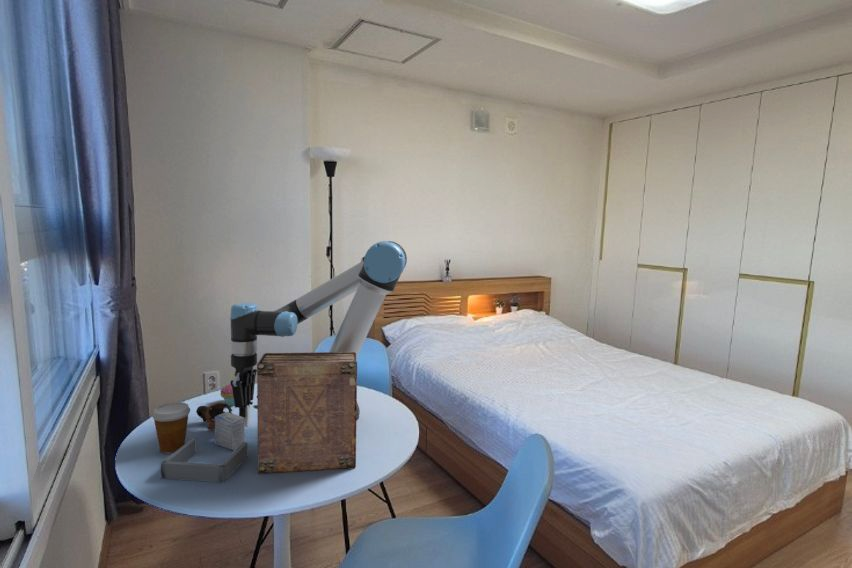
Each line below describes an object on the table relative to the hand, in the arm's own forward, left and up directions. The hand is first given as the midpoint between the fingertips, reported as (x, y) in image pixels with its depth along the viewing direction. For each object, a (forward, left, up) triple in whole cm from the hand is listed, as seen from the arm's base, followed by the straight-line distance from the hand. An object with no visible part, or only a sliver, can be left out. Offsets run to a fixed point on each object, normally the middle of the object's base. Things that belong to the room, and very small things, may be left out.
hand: (244, 425), depth 139 cm
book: (-26, +16, -2) cm, 31 cm away
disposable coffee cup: (+15, +13, -2) cm, 20 cm away
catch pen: (0, +21, -2) cm, 21 cm away
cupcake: (+14, -21, -2) cm, 25 cm away
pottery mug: (+11, -3, -2) cm, 12 cm away
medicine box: (0, +9, -2) cm, 10 cm away
